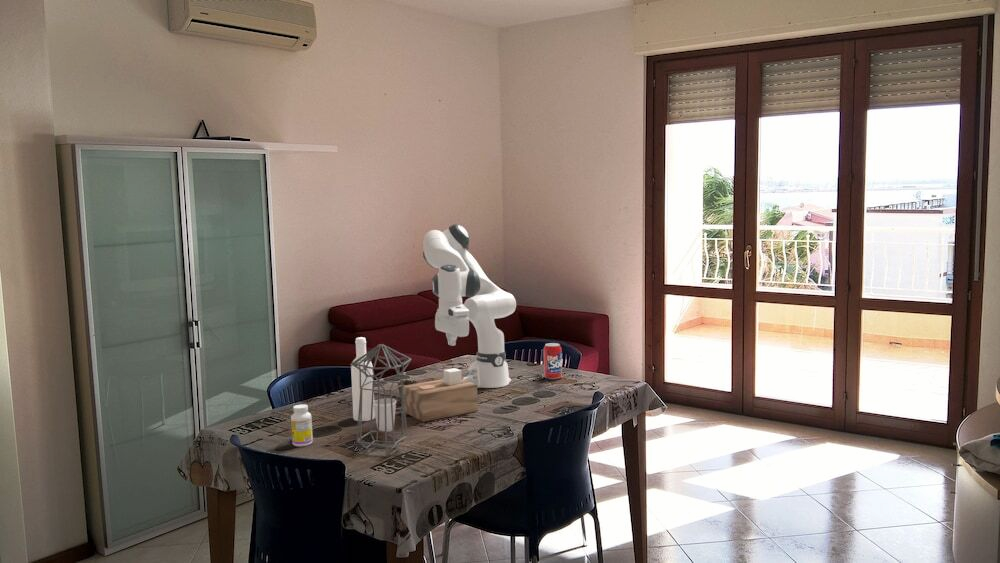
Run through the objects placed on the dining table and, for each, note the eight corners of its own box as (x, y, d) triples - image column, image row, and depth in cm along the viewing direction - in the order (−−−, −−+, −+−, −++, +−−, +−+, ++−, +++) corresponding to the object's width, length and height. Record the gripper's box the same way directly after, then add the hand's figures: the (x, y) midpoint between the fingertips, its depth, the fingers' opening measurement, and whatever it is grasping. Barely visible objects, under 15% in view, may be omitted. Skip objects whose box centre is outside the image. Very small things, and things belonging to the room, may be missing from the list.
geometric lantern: (371, 442, 256) (369, 338, 252) (415, 447, 251) (414, 341, 248) (348, 458, 241) (346, 347, 237) (394, 463, 236) (393, 350, 233)
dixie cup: (376, 425, 274) (374, 398, 273) (399, 425, 274) (398, 398, 273) (371, 433, 266) (370, 404, 265) (395, 432, 266) (394, 404, 265)
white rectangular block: (444, 393, 294) (443, 369, 293) (455, 391, 296) (454, 368, 295) (450, 395, 289) (449, 372, 288) (462, 393, 292) (461, 370, 291)
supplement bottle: (294, 441, 260) (292, 403, 258) (314, 440, 260) (312, 402, 259) (290, 447, 253) (288, 409, 251) (311, 446, 253) (309, 408, 252)
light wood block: (403, 411, 291) (402, 385, 290) (457, 401, 303) (456, 376, 302) (422, 421, 278) (421, 394, 277) (477, 410, 290) (477, 384, 289)
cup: (420, 400, 307) (420, 380, 306) (411, 404, 300) (410, 384, 300) (404, 398, 310) (404, 378, 309) (394, 403, 304) (394, 383, 303)
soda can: (550, 375, 343) (549, 341, 342) (565, 377, 339) (564, 343, 337) (540, 378, 337) (540, 345, 335) (556, 381, 332) (555, 346, 331)
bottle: (368, 422, 279) (364, 340, 275) (349, 420, 282) (345, 339, 278) (379, 416, 286) (375, 336, 283) (360, 414, 289) (356, 335, 286)
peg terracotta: (418, 410, 288) (417, 386, 287) (430, 407, 291) (429, 384, 290) (424, 413, 284) (423, 389, 283) (436, 410, 287) (435, 387, 286)
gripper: (430, 306, 296) (431, 342, 298) (456, 313, 279) (457, 350, 280) (444, 304, 299) (446, 340, 301) (471, 311, 282) (472, 348, 284)
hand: (451, 345), depth 291 cm, fingers closed
